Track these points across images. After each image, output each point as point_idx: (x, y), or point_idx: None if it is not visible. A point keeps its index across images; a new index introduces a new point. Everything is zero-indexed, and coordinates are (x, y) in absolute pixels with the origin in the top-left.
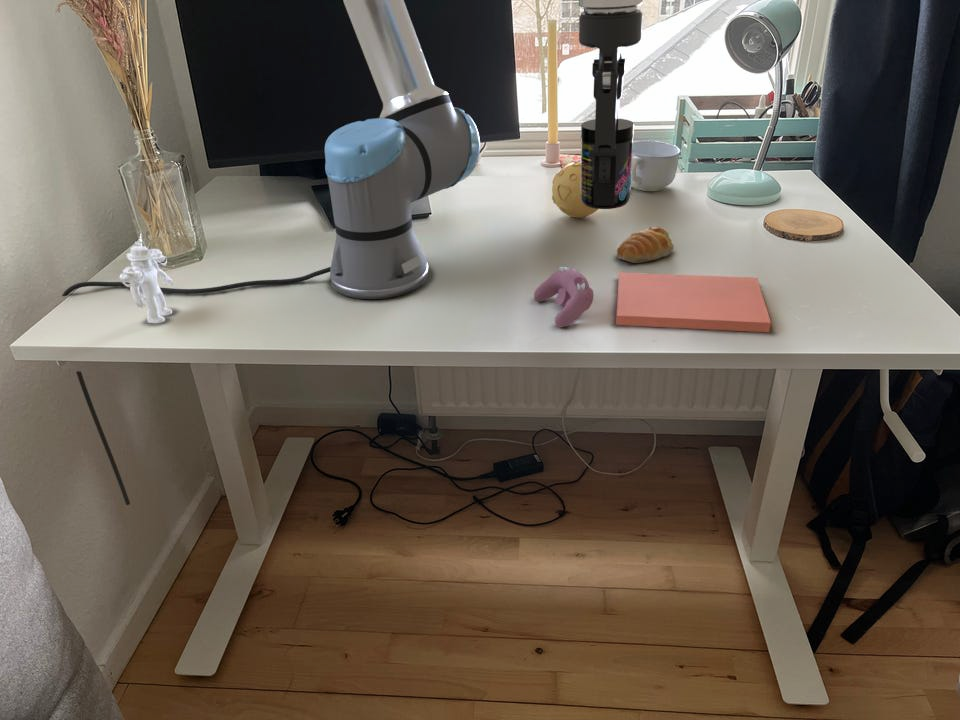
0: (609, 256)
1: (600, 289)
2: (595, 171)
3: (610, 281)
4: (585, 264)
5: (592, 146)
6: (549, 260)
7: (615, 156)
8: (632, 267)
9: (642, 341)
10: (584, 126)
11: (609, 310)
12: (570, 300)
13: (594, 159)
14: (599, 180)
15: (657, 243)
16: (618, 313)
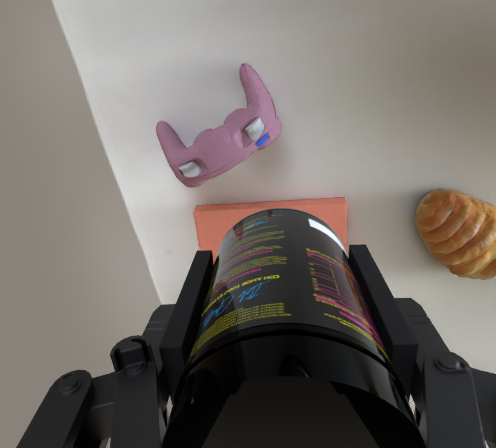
0: (454, 172)
1: (311, 172)
2: (175, 311)
3: (344, 184)
4: (417, 133)
5: (190, 359)
6: (441, 54)
7: (172, 401)
8: (402, 213)
9: (163, 239)
10: (242, 391)
11: (240, 192)
12: (171, 150)
13: (162, 338)
14: (157, 310)
15: (445, 262)
16: (199, 213)
